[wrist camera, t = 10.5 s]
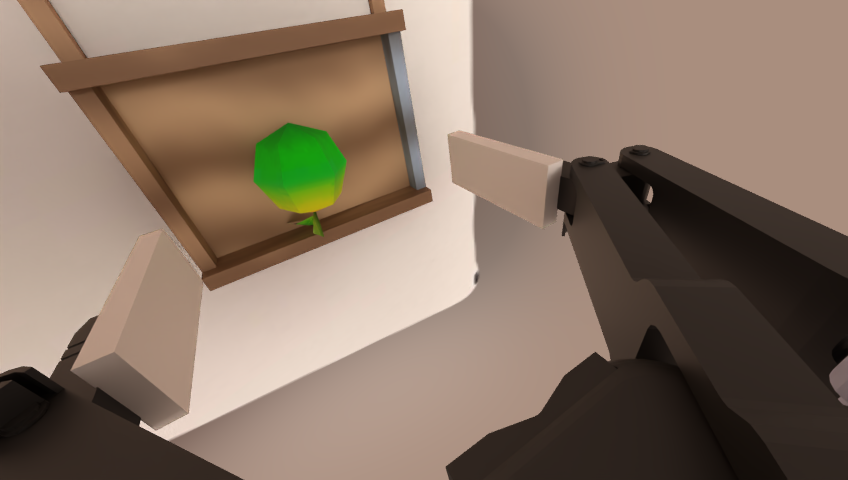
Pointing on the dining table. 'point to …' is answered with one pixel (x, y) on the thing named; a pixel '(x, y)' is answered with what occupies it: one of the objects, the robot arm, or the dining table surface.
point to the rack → (251, 129)
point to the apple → (300, 170)
